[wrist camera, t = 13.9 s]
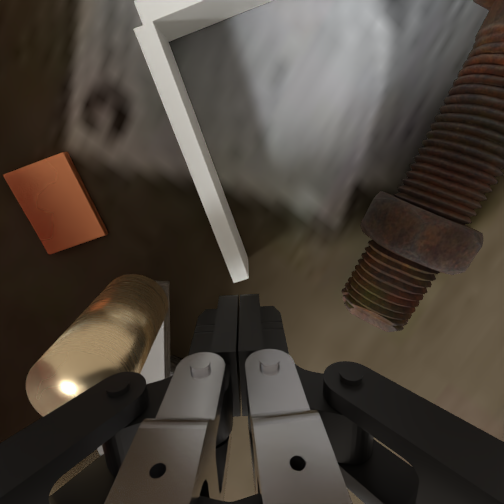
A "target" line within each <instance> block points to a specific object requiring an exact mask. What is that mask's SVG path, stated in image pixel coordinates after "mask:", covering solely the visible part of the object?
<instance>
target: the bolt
mask: <svg viewBox="0 0 504 504" xmlns="http://www.w3.org/2000/svg"><path fill="white" fill-rule="evenodd" d="M473 1H474V2H475V3H477V4H479V5H480V6H482V7H484V8H486V9H488V10H490V11H489V13H488V15H487V16H486V18H485V20H484V22H483V24H482V26H481V28H480V30H479V31H478V33H477V35H476V39H475V43H474V45H473V50H472V51H471V52H470V54H469V56H468V58H467V60H466V61H465V62H464V64H463V69H462V70H461V71H459V74H458V76H457V77H458V79H456V80H455V81H454V83H453V87H452V88H451V90H450V91H449V92H448V93H449V96H448V97H446V98H445V100H444V103H445V105H444V106H441V108H440V109H439V110H440V113H441V114H438V115H436V117H435V121H436V123H432V124H431V126H430V127H431V130H432V131H428V132H427V134H426V136H427V138H428V139H425V140H423V141H422V144H423V146H424V147H423V148H418V152H419V154H420V155H417V156H415V157H414V158H413V159H414V161H415V162H416V163H412V164H410V168H411V171H408V172H405V173H406V175H407V177H408V178H406V179H402V182H403V184H404V185H403V186H399V187H398V189H399V191H400V193H397V194H394V195H392V194H389V193H386V192H383V191H381V192H379V193H378V194H377V195H376V196H375V197H374V199H373V200H372V202H371V204H370V206H369V208H368V210H367V212H366V214H365V216H364V218H363V220H362V222H361V228H362V231H363V232H364V233H365V234H366V235H367V236H368V237H370V238H371V239H373V240H371V241H369V242H368V243H369V245H370V246H369V247H366V248H365V250H366V253H363V254H362V257H363V259H359V260H358V262H359V265H356V266H355V269H356V271H353V272H352V276H353V277H350V278H349V279H348V281H349V282H348V283H346V284H345V287H346V288H344V289H342V293H343V297H342V298H343V300H344V302H345V303H344V304H345V306H346V308H347V309H348V310H349V312H350V313H351V314H353V315H355V316H357V317H359V318H361V319H362V320H364V321H366V322H368V323H370V324H372V325H374V326H376V327H378V328H380V329H382V330H384V331H386V332H392V331H399V330H402V329H404V328H403V326H404V325H406V324H407V322H408V319H410V318H411V313H413V312H415V307H417V306H418V305H419V300H422V299H423V294H425V293H427V289H426V287H431V282H430V281H433V280H435V279H436V278H435V276H434V274H438V273H440V272H443V273H446V274H451V275H454V274H458V273H462V272H464V271H466V270H467V268H468V267H469V265H470V264H471V262H472V261H473V259H474V258H475V256H476V255H477V253H478V252H479V250H480V249H481V247H482V244H483V234H482V233H481V232H479V231H477V230H475V229H472V228H470V227H468V226H466V225H465V224H469V223H472V222H471V220H470V218H469V217H471V216H476V212H475V210H474V209H477V208H482V207H481V205H480V203H479V201H483V200H487V198H486V196H485V194H484V193H488V192H492V189H491V188H490V186H489V185H493V184H497V183H498V182H497V180H496V179H495V178H494V177H498V176H501V175H503V173H502V171H501V170H500V169H501V168H504V0H473Z"/></svg>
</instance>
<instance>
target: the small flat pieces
mask: <svg viewBox="0 0 504 504" xmlns="http://www.w3.org/2000/svg"><path fill="white" fill-rule="evenodd" d="M3 177H4V179H5V180H6V182H7V184H8V185H9V187H10V189H11V191H12V192H13V194H14V196H15V197H16V199H17V201H18V203H19V204H20V206H21V208H22V209H23V211H24V213H25V215H26V216H27V218H28V220H29V221H30V223H31V225H32V227H33V228H34V230H35V232H36V233H37V235H38V237H39V239H40V240H41V242H42V244H43V245H44V247H45V249H46V251H47V252H48V254H49V255H50V254H53V253H56V252H58V251H61V250H64V249H67V248H70V247H73V246H76V245H79V244H81V243H84V242H87V241H90V240H93V239H96V238H99V237H102V236H104V235H106V234H108V231H107V229H106V227H105V225H104V223H103V221H102V219H101V217H100V215H99V213H98V211H97V209H96V207H95V205H94V203H93V201H92V199H91V197H90V195H89V193H88V191H87V189H86V187H85V185H84V183H83V181H82V180H81V178H80V176H79V174H78V172H77V170H76V168H75V166H74V164H73V162H72V160H71V158H70V156H69V154H68V152H62V153H59V154H57V155H54V156H51V157H49V158H46V159H43V160H41V161H38V162H35V163H33V164H30V165H27V166H25V167H22V168H19V169H17V170H14V171H11V172H9V173H6V174H3ZM181 360H182V359H180V358H178V357H175V356H172V355H170V376H172V375H173V374H174V372H175V369H176V367H177V365H178V364H179V362H180V361H181Z"/></svg>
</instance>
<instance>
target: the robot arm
mask: <svg viewBox="0 0 504 504" xmlns="http://www.w3.org/2000/svg"><path fill="white" fill-rule="evenodd" d="M241 400H242V414H243V416H248V425H249V441H250V451H251V460H252V470H253V480H254V489H255V495H253V496H250V497H247V498H244V499H241V500H238V501H234V502H225V501H224V494H225V487H226V479H227V471H228V463H229V455H230V448H231V431H232V424H233V417H234V416H240V409H241ZM374 437H375V438H376V439H378V440H379V441H380V442H382V443H383V444H385V445H386V446H387V447H389V448H390V449H392V450H393V451H394V452H396V453H397V454H399V455H400V456H401V457H403V458H404V459H405V460H407V461H408V462H409V463H410V464H411V465H412V466H410V465H409V464H407V463H406V462H405V461H403V460H402V459H400V458H399V457H398V456H396V455H395V454H393V453H392V452H391V451H389V450H388V449H386V448H385V447H384V446H382V445H381V444H379V443H378V442H377V441H375V440H374V439H373V438H374ZM101 445H102V448H103V452H104V454H102V455H101V456H100V457H99V458H97V459H96V460H95V461H94V462H92V463H91V464H90V465H89V466H87V467H86V468H85V469H84V470H82V471H81V472H80V473H79V474H77V475H76V476H75V477H74V478H72V479H71V480H70V481H69V482H67V483H66V484H65V485H64V486H62V487H61V488H60V489H59V490H57V491H56V492H55V493H54V494H52V495H51V496H49V493H50V491H51V489H52V487H53V485H54V484H55V482H56V481H57V480H58V479H59V478H60V477H61V476H62V475H64V474H65V473H66V472H67V471H69V470H70V469H71V468H73V467H74V466H75V465H76V464H78V463H79V462H80V461H82V460H83V459H84V458H86V457H87V456H88V455H89V454H91V453H92V452H93V451H95V450H96V449H97V448H98V447H100V446H101ZM347 488H348V489H349V490H350V491H352V492H353V493H354V494H355V495H356V496H357V497H358V498H359V499H360V500H362V501H363V502H364V503H365V504H504V442H503V441H501V440H499V439H497V438H495V437H493V436H492V435H490V434H488V433H486V432H484V431H482V430H481V429H479V428H477V427H475V426H473V425H471V424H470V423H468V422H466V421H464V420H462V419H461V418H459V417H457V416H455V415H453V414H451V413H450V412H448V411H446V410H444V409H442V408H440V407H439V406H437V405H435V404H433V403H431V402H429V401H428V400H426V399H424V398H422V397H420V396H418V395H417V394H415V393H413V392H411V391H409V390H408V389H406V388H404V387H402V386H400V385H398V384H397V383H395V382H393V381H391V380H389V379H387V378H386V377H384V376H382V375H380V374H378V373H376V372H375V371H373V370H371V369H369V368H367V367H365V366H363V365H361V364H358V363H354V362H347V361H343V362H336V363H333V364H331V365H330V366H328V367H327V368H326V370H325V371H324V374H321V373H316V372H311V371H307V370H304V369H302V368H300V367H299V366H297V365H296V364H295V363H294V361H293V359H292V358H291V356H290V355H289V353H288V348H287V343H286V338H285V333H284V329H283V324H282V319H281V314H280V312H279V311H278V310H277V309H276V308H275V307H274V306H263V307H260V303H259V294H248V295H240V307H239V296H238V295H228V296H219V301H218V307H217V309H206V310H205V311H204V312H203V313H202V314H201V315H200V316H199V317H198V320H197V324H196V328H195V331H194V335H193V339H192V343H191V347H190V351H189V355H188V356H187V357H186V358H184V359H183V360H181V361H180V362H179V364H178V365H177V367H176V369H175V372H174V374H173V375H172V376H170V377H168V378H166V379H163V380H159V381H156V382H152V383H149V384H146V380H145V378H144V376H142V375H141V374H139V373H136V372H121V373H117V374H114V375H111V376H109V377H107V378H105V379H104V380H102V381H100V382H99V383H97V384H96V385H94V386H92V387H91V388H89V389H87V390H86V391H84V392H83V393H81V394H79V395H78V396H76V397H75V398H73V399H71V400H70V401H68V402H66V403H65V404H63V405H62V406H60V407H58V408H57V409H55V410H53V411H52V412H50V413H49V414H47V415H45V416H44V417H42V418H41V419H39V420H37V421H36V422H34V423H32V424H31V425H29V426H28V427H26V428H24V429H23V430H21V431H19V432H18V433H16V434H15V435H13V436H11V437H10V438H8V439H7V440H5V441H3V442H2V443H0V504H353V503H352V501H351V498H350V495H349V493H348V490H347Z"/></svg>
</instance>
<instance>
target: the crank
mask: <svg viewBox="0 0 504 504" xmlns="http://www.w3.org/2000/svg"><path fill="white" fill-rule="evenodd" d="M121 372H136V373H139V374H141V375H142V376H144V378H145V380H146V384H149V383H152V382H156V381H159V380H163V379H166V378H168V377H170V281H154V280H153V279H151V278H149V277H147V276H144V275H140V274H125V275H122V276H119V277H117V278H115V279H114V280H113V281H111V283H110V284H109V285H108V286H107V287H106V288H105V289H104V290H103V291H102V292H101V293H100V294H99V295H98V296H97V298H96V299H95V300H94V301H93V302H92V303H91V304H90V305H89V306H88V307H87V308H86V309H85V310H84V311H83V313H82V314H81V315H80V316H79V317H78V318H77V319H76V320H75V321H74V322H73V323H72V324H71V325H70V326H69V328H68V329H67V330H66V331H65V332H64V333H63V334H62V335H61V336H60V337H59V338H58V339H57V340H56V341H55V343H54V344H53V345H52V346H51V347H50V348H49V349H48V350H47V351H46V352H45V353H44V354H43V355H42V357H41V358H40V359H39V360H38V361H37V362H36V363H35V364H34V365H33V366H32V368H31V369H30V371H29V373H28V375H27V378H26V392H27V396H28V398H29V401H30V402H31V404H32V406H33V407H34V408H35V410H36V411H37V412H38V413H39V414H40V415H41V416H43V417H44V416H45V415H47V414H49V413H50V412H52V411H53V410H55V409H57V408H58V407H60V406H62V405H63V404H65V403H66V402H68V401H70V400H71V399H73V398H75V397H76V396H78V395H79V394H81V393H83V392H84V391H86V390H87V389H89V388H91V387H92V386H94V385H96V384H97V383H99V382H100V381H102V380H104V379H105V378H107V377H109V376H111V375H114V374H117V373H121ZM97 450H98V452H99V454H100V456H101V455H102V454H104V452H103V448H102V445H101V446H100V447H98V448H97Z"/></svg>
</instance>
